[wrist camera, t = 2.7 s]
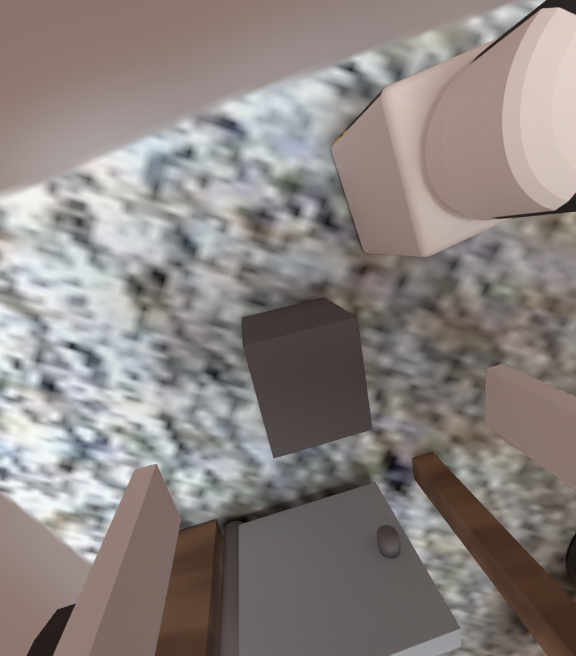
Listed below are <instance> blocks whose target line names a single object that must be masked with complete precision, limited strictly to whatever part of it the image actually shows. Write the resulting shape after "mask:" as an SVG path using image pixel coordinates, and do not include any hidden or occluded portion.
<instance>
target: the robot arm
mask: <svg viewBox="0 0 576 656" xmlns="http://www.w3.org/2000/svg"><path fill="white" fill-rule="evenodd" d="M485 425H486V426H487V427H489V428H490V429H491V430H493V431H494V432H495V433H497V434H498V435H500V436H501V437H502V438H504V439H505V440H506V441H508V442H509V443H510V444H512V445H513V446H515V447H516V448H517V449H519V450H520V451H521V452H523V453H524V454H526V455H527V456H528V457H530V458H531V459H532V460H534V461H535V462H537V463H538V464H539V465H541V466H542V467H543V468H545V469H546V470H547V471H549V472H550V473H552V474H553V475H554V476H556V477H557V478H558V479H560V480H561V481H563V482H564V483H565V484H567V485H568V486H569V487H571V488H572V489H574V490H575V491H576V397H575V396H573V395H571V394H568V393H566V392H564V391H562V390H560V389H557V388H555V387H553V386H551V385H549V384H546V383H544V382H542V381H540V380H537V379H535V378H533V377H531V376H529V375H526V374H524V373H522V372H520V371H518V370H515V369H513V368H511V367H509V366H507V365H504V364H500V365H497V366H493V367H490V368H486V392H485ZM180 523H181V518H180V516H179V514H178V511H177V509H176V507H175V505H174V502H173V500H172V498H171V495H170V493H169V491H168V489H167V486H166V484H165V482H164V479H163V477H162V475H161V473H160V470H159V468H158V466H157V464H154V465H150V466H147V467H143V468H140V469H137V470H134V473H133V475H132V477H131V479H130V482H129V484H128V486H127V488H126V491H125V493H124V495H123V498H122V500H121V502H120V504H119V507H118V509H117V511H116V513H115V516H114V518H113V520H112V523H111V525H110V527H109V529H108V532H107V534H106V536H105V538H104V541H103V543H102V545H101V548H100V550H99V552H98V554H97V557H96V559H95V561H94V563H93V566H92V568H91V570H90V573H89V575H88V577H87V580H86V582H85V584H84V586H83V588H82V591H81V593H80V595H79V598H78V600H77V602H76V604H73V605H70V606H67V607H64V608H61V609H58V610H57V611H56V612H55V613H54V615H53V616H52V617H51V619H50V620H49V621H48V623H47V624H46V625H45V627H44V628H43V629H42V631H41V632H40V634H39V635H38V636H37V638H36V639H35V640H34V642H33V644H32V646H31V648H30V650H29V652H28V654H27V656H155V652H156V647H157V641H158V636H159V631H160V626H161V621H162V616H163V610H164V605H165V600H166V595H167V590H168V585H169V579H170V574H171V569H172V564H173V559H174V554H175V548H176V543H177V538H178V533H179V528H180ZM567 569H568V573H569V575H570V577H571V578H572V579H573V580H574V581H575V582H576V538H575V540H574V542H573V544H572V546H571V548H570V551H569V554H568V559H567Z"/></svg>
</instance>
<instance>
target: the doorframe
mask: <svg viewBox="0 0 576 656" xmlns="http://www.w3.org/2000/svg"><path fill="white" fill-rule="evenodd" d="M413 469H414V479H415V481H416V482H417V483H418V485H419V486H420V487H421V489H422V490H423V491H424V493H425V494H426V495H427V497H428V498H429V499H430V501H431V502H432V503H433V505H434V506H435V507H436V509H437V510H438V511H439V513H440V514H441V515H442V516H443V518H444V519H445V520H446V522H447V523H448V524H449V526H450V527H451V528H452V530H453V531H454V532H455V534H456V535H457V536H458V538H459V539H460V540H461V542H462V543H463V544H464V546H465V547H466V548H467V550H468V551H469V552H470V554H471V555H472V556H473V558H474V559H475V560H476V561H477V563H478V564H479V565H480V567H481V568H482V569H483V571H484V572H485V573H486V575H487V576H488V577H489V579H490V580H491V581H492V583H493V584H494V585H495V587H496V588H497V589H498V591H499V592H500V593H501V595H502V596H503V597H504V599H505V600H506V601H507V602H508V604H509V605H510V606H511V608H512V609H513V610H514V612H515V613H516V614H517V616H518V617H519V618H520V620H521V621H522V622H523V624H524V625H525V626H526V628H527V629H528V630H529V632H530V633H531V634H532V636H533V637H534V638H535V640H536V641H537V642H538V643H539V645H540V646H541V647H542V649H543V650H544V651H545V653H546V654H547V655H548V656H576V603H575V602H574V601H573V600H572V599H571V598H570V597H569V596H568V595H567V594H566V593H565V592H564V591H563V589H562V588H561V587H560V586H559V585H558V584H557V583H556V582H555V581H554V580H553V579H552V578H551V577H550V576H549V575H548V574H547V573H546V571H545V570H544V569H543V568H542V567H541V566H540V565H539V564H538V563H537V562H536V561H535V560H534V559H533V558H532V557H531V556H530V555H529V553H528V552H527V551H526V550H525V549H524V548H523V547H522V546H521V545H520V544H519V543H518V542H517V541H516V540H515V539H514V538H513V537H512V535H511V534H510V533H509V532H508V531H507V530H506V529H505V528H504V527H503V526H502V525H501V524H500V523H499V522H498V521H497V520H496V519H495V517H494V516H493V515H492V514H491V513H490V512H489V511H488V510H487V509H486V508H485V507H484V506H483V505H482V504H481V503H480V502H479V501H478V499H477V498H476V497H475V496H474V495H473V494H472V493H471V492H470V491H469V490H468V489H467V488H466V487H465V486H464V485H463V484H462V483H461V481H460V480H459V479H458V478H457V477H456V476H455V475H454V474H453V473H452V472H451V471H450V470H449V469H448V468H447V467H446V466H445V465H444V464H443V462H442V461H441V460H440V459H439V458H438V457H437V456H436V455H435V454H434V453H429V454H426V455H423V456H420V457H416V458H413ZM223 546H224V539H223V536H222V533H221V531H220V528H219V525H218V523H217V520H213V521H209V522H206V523H203V524H200V525H196V526H193V527H190V528H187V529H184V530H180V531H179V533H178V538H177V543H176V548H175V554H174V559H173V564H172V569H171V574H170V579H169V585H168V590H167V595H166V600H165V605H164V610H163V616H162V621H161V626H160V631H159V636H158V641H157V647H156V652H155V656H218V648H219V628H220V607H221V587H222V566H223Z"/></svg>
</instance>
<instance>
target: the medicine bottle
mask: <svg viewBox="0 0 576 656" xmlns="http://www.w3.org/2000/svg"><path fill="white" fill-rule="evenodd" d="M331 151H332V155H333V158H334V161H335V164H336V167H337V170H338V173H339V176H340V180H341V183H342V186H343V189H344V192H345V195H346V198H347V201H348V204H349V208H350V211H351V214H352V217H353V220H354V223H355V226H356V229H357V233H358V236H359V239H360V242H361V245H362V248H363V251H364V252H365V253H367V254H381V255H398V256H415V257H429V256H431V255H433V254H436V253H438V252H440V251H442V250H444V249H446V248H449V247H451V246H453V245H455V244H457V243H459V242H462V241H464V240H466V239H468V238H470V237H472V236H475V235H477V234H479V233H481V232H483V231H485V230H488V229H490V228H492V227H494V226H496V225H499V224H501V223H503V222H505V221H507V220H509V219H512V218H517V217H527V216H537V215H546V214H556V213H566V212H576V0H546V1H545V2H543V3H542V4H541V5H540V6H538V7H537V8H536V9H535V10H533V11H532V12H531V13H530V14H528V15H527V16H526V17H525V18H523V19H522V20H521V21H520V22H518V23H517V24H516V25H515V26H513V27H512V28H511V29H510V30H508V31H507V32H506V33H505V34H503V35H502V36H501V37H500V38H497V39H495V40H493V41H490V42H488V43H486V44H483V45H481V46H479V47H476V48H474V49H472V50H470V51H467V52H465V53H463V54H460V55H458V56H456V57H453V58H451V59H449V60H446V61H444V62H442V63H439V64H437V65H435V66H433V67H430V68H428V69H426V70H423V71H421V72H419V73H416V74H414V75H412V76H409V77H407V78H405V79H403V80H400V81H398V82H396V83H393V84H391V85H389V86H387V87H385V88H384V89H383V90H382V91H381V92H380V93H379V94H378V95H377V97H376V98H375V99H374V100H373V101H372V102H371V103H370V104H369V105H368V106H367V107H366V108H365V109H364V111H363V112H362V113H361V114H360V115H359V116H358V117H357V118H356V119H355V120H354V121H353V122H352V124H351V125H350V126H349V127H348V128H347V129H346V130H345V131H344V132H343V133H342V134H341V135H340V136H339V138H338V139H337V140H336V141H335V142H334V143H333V144H332V147H331Z"/></svg>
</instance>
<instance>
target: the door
mask: <svg viewBox="0 0 576 656" xmlns="http://www.w3.org/2000/svg"><path fill="white" fill-rule="evenodd" d="M459 647H461V628H460V627H459V625H458V623H457V621H456V620H455V618H454V616H453V615H452V613H451V611H450V609H449V608H448V606H447V604H446V602H445V601H444V599H443V597H442V596H441V594H440V592H439V590H438V589H437V587H436V585H435V584H434V582H433V580H432V578H431V577H430V575H429V573H428V572H427V570H426V568H425V566H424V565H423V563H422V561H421V560H420V558H419V556H418V554H417V553H416V551H415V549H414V548H413V546H412V544H411V542H410V541H409V539H408V537H407V535H406V534H405V532H404V530H403V529H402V527H401V525H400V523H399V522H398V520H397V518H396V517H395V515H394V513H393V511H392V510H391V508H390V506H389V505H388V503H387V501H386V499H385V498H384V496H383V494H382V493H381V491H380V489H379V487H378V486H377V484H376V482H374V483H371V484H368V485H365V486H362V487H358V488H355V489H352V490H349V491H346V492H342V493H339V494H336V495H333V496H330V497H326V498H323V499H320V500H317V501H314V502H310V503H307V504H304V505H301V506H298V507H295V508H291V509H288V510H285V511H282V512H279V513H275V514H272V515H269V516H266V517H263V518H259V519H256V520H253V521H250V522H247V523H243V522H241V521H233V522H230V523H228V524H227V525H226V527H225V529H224V546H223V566H222V587H221V607H220V628H219V648H218V656H438V655H441V654H443V653H446V652H448V651H451V650H453V649H456V648H459Z"/></svg>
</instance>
